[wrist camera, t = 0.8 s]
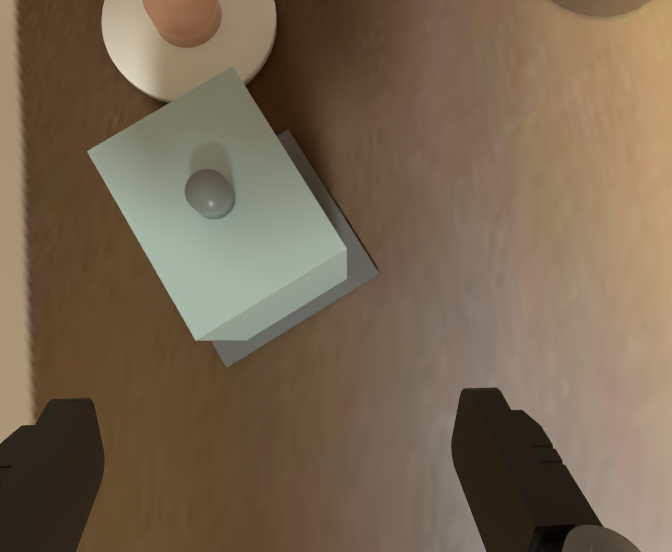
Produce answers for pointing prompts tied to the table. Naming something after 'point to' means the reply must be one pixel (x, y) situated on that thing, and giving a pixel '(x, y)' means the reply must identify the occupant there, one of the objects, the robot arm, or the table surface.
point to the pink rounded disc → (185, 20)
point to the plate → (187, 63)
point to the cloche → (222, 211)
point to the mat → (357, 274)
